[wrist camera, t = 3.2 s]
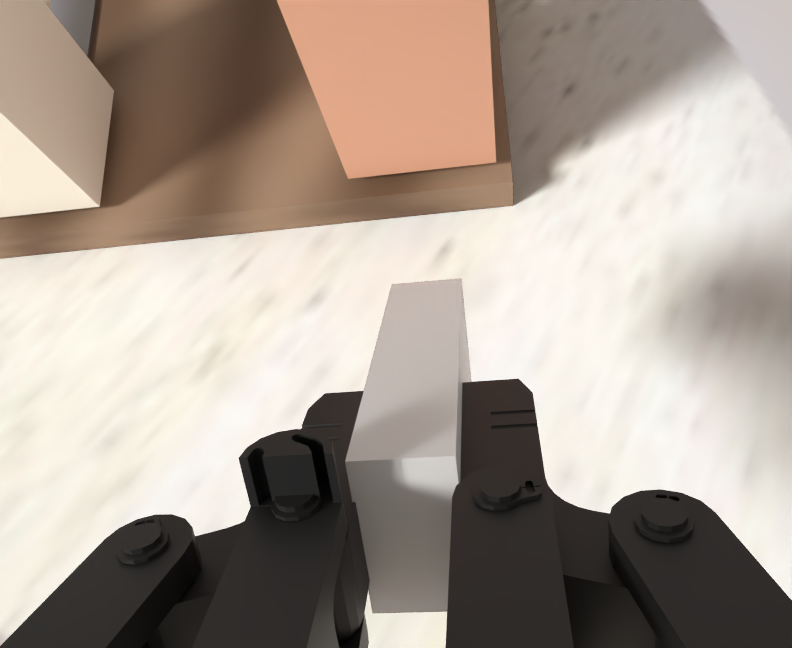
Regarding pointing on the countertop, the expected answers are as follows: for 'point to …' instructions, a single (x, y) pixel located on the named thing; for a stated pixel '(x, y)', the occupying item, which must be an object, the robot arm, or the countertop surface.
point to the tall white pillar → (48, 115)
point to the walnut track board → (228, 135)
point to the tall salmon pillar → (399, 80)
